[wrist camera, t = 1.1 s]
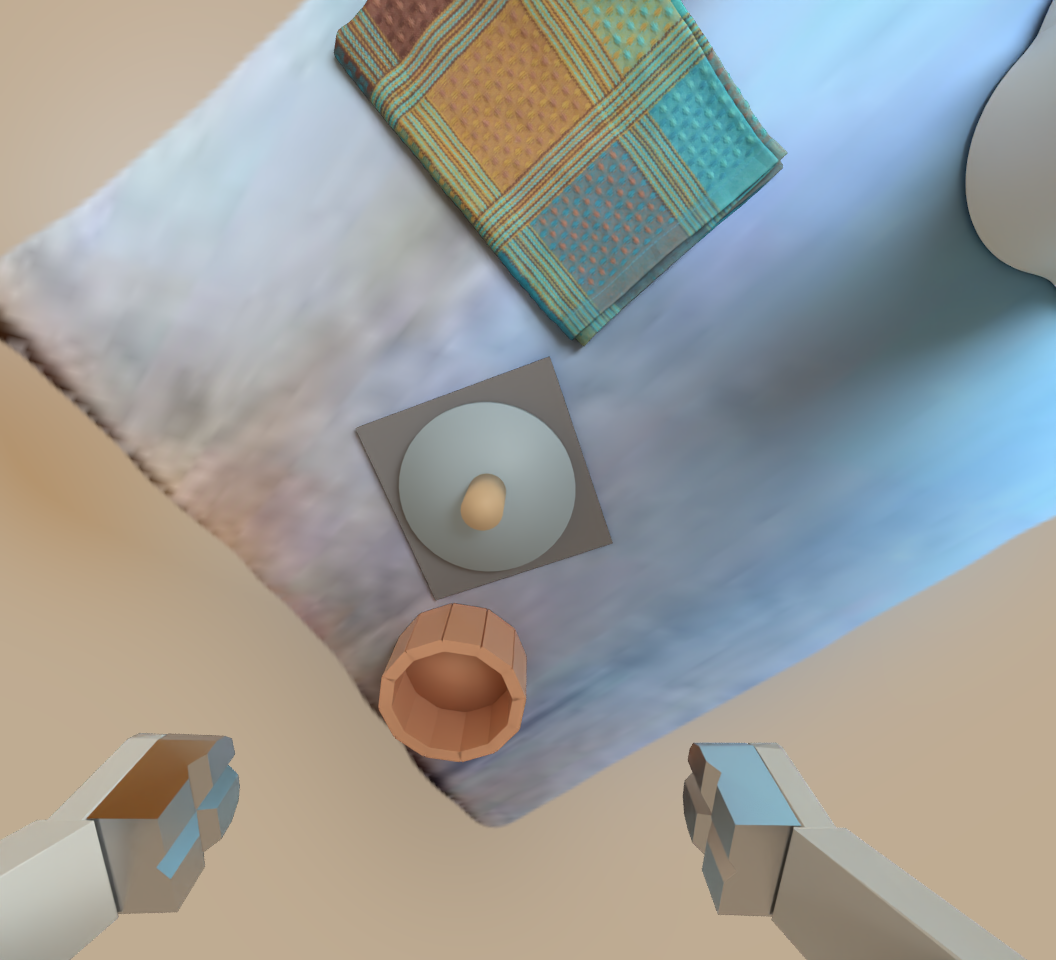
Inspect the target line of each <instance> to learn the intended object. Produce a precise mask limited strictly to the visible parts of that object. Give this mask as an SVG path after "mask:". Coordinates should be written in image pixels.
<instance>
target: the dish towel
mask: <svg viewBox="0 0 1056 960" xmlns="http://www.w3.org/2000/svg"><path fill="white" fill-rule="evenodd" d="M334 55H335V57H336V58H337V60H338V61H339V62H340V64H341V65H342V66H343V67H344V69H345V70H346V72H347V73H348V74H349V76H350V77H351V78H352V79H353V80H354V81H355V83H356V84H357V85H358V87H359V88H360V89H361V91H362V92H363V93H364V94H365V95H366V97H367V98H368V99H369V100H370V102H371V103H372V104H373V105H374V106H375V108H376V109H377V110H378V111H379V113H380V114H381V115H382V116H383V117H384V119H385V120H386V121H387V122H388V124H389V125H390V126H391V127H392V129H393V130H394V131H395V132H396V133H397V134H398V135H399V137H400V138H401V140H402V141H403V142H404V143H405V144H406V145H407V146H408V147H409V148H410V150H411V151H412V152H413V154H414V155H415V156H416V157H417V158H418V159H419V160H420V161H421V163H422V164H423V166H424V167H425V168H426V169H427V170H428V171H429V173H430V174H431V175H432V177H433V179H434V180H435V181H436V182H437V183H438V184H439V185H440V186H441V187H442V189H443V191H444V192H445V194H446V195H448V196H449V197H450V198H451V199H452V200H453V202H454V203H455V205H456V206H457V207H459V208H460V209H461V211H462V212H463V213H464V215H465V217H466V218H467V219H468V220H469V221H470V222H471V224H472V225H473V226H474V228H475V229H476V230H477V231H478V233H479V234H480V235H481V236H482V237H483V239H484V240H485V241H486V243H487V244H488V245H489V247H490V248H491V249H492V250H493V251H494V253H495V254H496V255H497V256H498V257H499V258H500V260H501V261H502V263H503V264H504V265H505V266H506V267H507V269H508V270H509V272H510V273H511V274H512V276H513V277H514V278H515V279H516V280H517V281H518V282H519V283H520V285H521V286H522V287H523V288H524V289H525V290H526V291H527V292H528V293H529V294H530V296H531V298H533V299H534V300H535V301H536V303H537V304H538V306H539V307H540V308H541V309H542V310H543V311H544V312H545V313H546V314H547V316H548V317H549V319H551V320H552V321H554V322H555V323H556V324H557V325H558V326H559V327H560V328H561V330H562V331H563V332H564V333H565V334H566V335H567V336H568V337H569V339H570V340H573V339H574V338H575V339H576V340H577V341H578V342H579V343H580V344H581V345H582V346H585V345H586V344H587V343H588V342H589V341H590V339H591V338H592V337H593V336H594V335H595V334H596V333H597V332H598V331H599V330H600V329H601V328H602V327H603V326H604V325H606V324H607V323H608V322H609V321H610V320H611V319H612V318H613V317H614V316H615V315H616V314H617V313H618V312H619V311H621V310H622V309H623V308H624V307H625V306H626V305H627V304H628V303H629V302H630V301H632V300H633V299H634V298H635V297H637V296H638V295H639V294H640V293H641V292H642V291H643V290H644V289H645V288H646V287H648V286H649V285H650V284H651V283H652V282H653V281H654V280H655V279H656V278H657V277H659V276H660V275H661V274H662V273H663V272H665V271H666V270H667V269H668V268H669V267H670V266H671V265H672V264H673V263H674V262H676V261H677V260H678V259H679V258H680V257H681V256H682V255H683V254H684V253H686V252H687V251H688V250H689V249H690V248H692V247H693V246H694V245H695V244H696V243H697V242H699V241H700V240H701V239H702V238H704V237H705V236H706V235H707V234H708V233H709V232H710V231H712V230H713V229H714V228H715V227H716V226H717V225H719V224H720V223H721V222H722V221H723V220H725V219H726V218H727V217H728V216H730V215H731V214H732V213H733V212H735V211H736V210H737V209H738V208H740V207H741V206H742V205H743V204H744V203H745V202H747V201H748V200H749V199H750V198H751V197H752V196H753V195H754V194H755V193H757V192H758V191H759V190H760V189H761V188H762V187H763V186H764V185H765V184H766V183H767V182H768V181H769V180H770V179H771V178H772V177H774V176H775V175H776V174H777V173H778V172H779V171H780V170H781V169H782V168H783V164H782V163H781V162H780V160H781V159H782V158H783V157H784V156H785V155H786V154H787V152H786V151H785V150H784V149H783V148H782V147H781V146H780V145H779V144H778V143H777V142H776V141H775V140H774V139H773V138H771V137H770V136H769V135H768V133H767V132H766V130H765V129H764V128H763V127H762V126H761V124H760V123H759V121H758V119H757V118H756V117H755V116H754V114H753V113H752V111H751V109H750V106H749V104H748V102H747V101H746V100H745V99H744V98H743V96H742V95H741V92H740V89H739V88H738V87H737V86H736V85H735V84H734V82H733V81H732V79H731V77H730V74H729V73H728V72H727V71H726V70H725V68H724V67H723V65H722V63H721V61H720V59H719V58H718V56H717V55H716V53H715V52H714V50H713V48H712V47H711V45H710V43H709V42H708V40H707V39H706V37H705V36H704V34H703V33H702V31H701V30H700V28H699V27H698V25H697V24H696V22H695V21H694V19H693V18H692V16H691V15H690V14H689V12H688V11H687V10H686V8H685V7H684V5H683V3H682V2H681V0H367V2H366V3H365V5H364V6H363V8H362V9H361V10H360V11H359V12H358V13H357V15H356V16H355V17H354V18H353V19H352V20H351V21H350V22H349V23H348V24H346V25H345V26H343V27H342V28H340V29H339V30H338V32H337V35H336V42H335V49H334Z"/></svg>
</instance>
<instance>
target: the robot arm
mask: <svg viewBox="0 0 1056 960" xmlns="http://www.w3.org/2000/svg"><path fill="white" fill-rule="evenodd" d="M966 197H967V204H968V209H969V213H970V217H971V220H972V223H973V225H974V228H975V230H976V232H977V234H978V235H979V237H980V239H981V240H982V242H983V243H984V244H985V246H986V247H987V248H988V249H989V250H990V251H991V252H992V253H993V254H994V255H995V256H996V257H997V258H998V259H1000V260H1001V261H1003V262H1004V263H1006V264H1007V265H1009V266H1011V267H1013V268H1015V269H1018V270H1021V271H1024V272H1027V273H1031V274H1035V275H1038V276H1041V277H1044V278H1046V279H1048V280H1050V281H1051V282H1052V283H1053V285H1054V286H1055V287H1056V0H1053V2H1052V4H1051V6H1050V8H1049V10H1048V12H1047V14H1046V17H1045V19H1044V21H1043V24H1042V26H1041V28H1040V31H1039V33H1038V35H1037V37H1036V38H1035V40H1034V41H1033V43H1032V44H1031V45H1030V46H1029V48H1028V49H1027V50H1026V52H1025V53H1024V54H1023V55H1022V56H1021V57H1020V58H1019V60H1018V61H1017V62H1016V63H1015V64H1014V65H1013V67H1012V68H1011V69H1010V70H1009V71H1008V73H1007V74H1006V75H1005V77H1004V78H1003V79H1002V81H1001V82H1000V83H999V85H998V86H997V88H996V89H995V91H994V93H993V94H992V96H991V97H990V99H989V101H988V103H987V105H986V107H985V108H984V111H983V113H982V115H981V117H980V119H979V122H978V124H977V127H976V129H975V132H974V135H973V138H972V142H971V146H970V150H969V155H968V160H967V167H966ZM234 755H235V751H234V746H233V741H232V738H229V737H226V736H212V735H189V734H188V735H187V734H150V733H139V734H137V735H134V736H132V737H130V738H128V739H127V740H126V741H125V742H124V743H123V744H122V745H121V746H120V747H119V748H118V749H117V750H116V751H115V752H114V754H112V755H111V756H110V757H109V759H107V760H106V761H105V763H103V764H102V765H101V766H100V767H99V768H98V769H97V770H96V772H94V773H93V774H92V775H91V777H89V779H87V780H86V781H85V782H84V783H83V784H82V786H80V787H79V788H78V790H77V791H75V792H74V794H72V796H71V797H70V798H69V799H68V800H67V801H66V802H65V803H64V804H63V805H62V806H61V807H60V808H59V809H58V810H57V811H56V812H55V813H54V814H53V815H52V816H51V817H50V818H49V819H48V820H36V821H34V822H32V823H30V824H29V825H27V826H25V827H23V828H21V829H20V830H18V831H16V832H14V833H13V834H10V835H9V836H7V837H6V838H3V839H1V840H0V960H70V959H71V958H73V957H74V956H75V955H76V954H77V953H78V952H80V951H81V950H82V949H83V948H84V947H85V946H86V945H87V944H88V943H90V942H91V941H92V940H93V939H94V938H95V937H97V936H98V935H99V934H100V933H101V932H102V931H103V930H105V929H106V928H107V927H108V926H109V925H110V924H112V923H113V922H114V921H115V920H116V919H117V918H118V914H128V913H129V914H130V913H163V912H164V913H165V912H177V911H178V910H179V909H180V907H181V905H182V904H183V902H184V900H185V899H186V897H187V895H188V894H189V892H190V890H191V888H192V887H193V885H194V884H195V882H196V880H197V879H198V877H199V875H200V874H201V872H202V870H203V869H204V867H205V862H204V851H206V850H207V849H209V848H210V847H211V846H212V845H214V844H215V843H216V842H218V841H219V840H220V839H222V837H223V835H224V834H225V832H226V830H227V828H228V827H229V825H230V823H231V821H232V819H233V816H234V812H235V809H236V807H237V804H238V799H239V788H240V784H239V777H238V774H237V773H236V772H235V771H234V770H233V769H232V768H231V767H230V766H229V765H228V763H229V762H230V761H231V759H232V758H233V756H234ZM688 762H689V765H690V767H691V770H692V772H693V773H692V774H691V775H690V776H689V777H688V778H687V779H686V780H685V782H684V791H683V805H684V815H685V820H686V824H687V828H688V831H689V834H690V837H691V840H692V843H693V844H694V845H695V846H696V847H697V848H698V849H699V850H700V851H701V852H702V853H703V854H704V855H705V856H704V861H703V868H702V872H703V874H704V877H705V880H706V883H707V886H708V888H709V891H710V894H711V897H712V899H713V902H714V905H715V908H716V911H717V913H718V915H744V916H771V917H772V921H773V922H774V923H775V924H776V925H777V926H778V928H779V929H780V930H781V931H782V932H783V933H784V935H785V936H786V937H787V938H788V939H789V940H790V941H791V943H792V944H793V945H794V946H795V947H796V948H797V949H798V950H799V952H800V953H801V954H802V955H803V956H804V957H805V958H806V959H807V960H1027V959H1025V958H1024V957H1023V956H1021V955H1020V954H1018V953H1017V952H1016V951H1014V950H1013V949H1011V948H1010V947H1009V946H1007V945H1006V944H1005V943H1003V942H1002V941H1000V940H999V939H998V938H996V937H995V936H994V935H992V934H991V933H989V932H988V931H987V930H985V929H984V928H983V927H981V926H980V925H978V924H977V923H975V922H974V921H973V920H972V919H970V918H969V917H967V916H966V915H965V914H963V913H962V912H960V911H959V910H958V909H956V908H955V907H954V906H952V905H951V904H949V903H948V902H946V901H945V900H944V899H943V898H941V897H940V896H938V895H937V894H936V893H934V892H933V891H931V890H930V889H929V888H927V887H926V886H925V885H923V884H922V883H920V882H919V881H918V880H916V879H915V878H913V877H912V876H911V875H909V874H908V873H907V872H905V871H904V870H903V869H901V868H900V867H898V866H897V865H896V864H894V863H893V862H891V861H890V860H889V859H887V858H886V857H885V856H883V855H882V854H881V853H879V852H878V851H876V850H875V849H874V848H872V847H871V846H870V845H868V844H867V843H865V842H864V841H863V840H861V839H860V838H858V837H857V836H856V835H854V834H853V833H852V832H850V831H849V830H847V829H846V828H836V827H835V825H834V824H833V822H832V821H831V819H830V818H829V816H828V815H827V813H826V812H825V810H824V809H823V807H822V806H821V804H820V803H819V801H818V800H817V798H816V797H815V795H814V794H813V792H812V791H811V789H810V788H809V786H808V785H807V783H806V782H805V780H804V779H803V777H802V776H801V774H800V773H799V771H798V770H797V768H796V767H795V765H794V764H793V762H792V761H791V759H790V758H789V756H788V755H787V753H786V752H785V750H784V749H783V748H782V747H781V746H780V745H779V744H777V743H748V744H747V743H693V744H692V746H691V748H690V750H689V756H688Z"/></svg>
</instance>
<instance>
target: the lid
mask: <svg viewBox="0 0 1056 960" xmlns="http://www.w3.org/2000/svg"><path fill="white" fill-rule="evenodd" d="M399 494H400V501H401V505H402V509H403V512H404V514H405V517H406V520H407V521H408V523H409V525H410V527H411V529H412V530H413V532H414V533H415V534H416V536H417V537H418V538H419V540H420V541H421V542H422V543H423V544H424V545H425V546H426V547H427V548H428V549H430V550H431V551H432V552H433V553H434V554H436V555H438V556H439V557H441V558H442V559H444V560H446V561H448V562H450V563H452V564H454V565H457V566H460V567H463V568H466V569H471V570H476V571H502V570H509V569H512V568H516V567H519V566H522V565H524V564H527V563H529V562H531V561H533V560H535V559H536V558H538V557H539V556H541V555H542V554H544V553H545V552H546V551H547V550H548V549H549V548H551V547H552V546H553V545H554V544H555V542H556V541H557V540H558V539H559V538H560V536H561V535H562V533H563V532H564V530H565V528H566V527H567V524H568V522H569V520H570V518H571V515H572V511H573V508H574V502H575V477H574V472H573V468H572V464H571V461H570V458H569V456H568V453H567V451H566V449H565V447H564V446H563V444H562V442H561V441H560V439H559V438H558V437H557V435H556V434H555V433H554V431H553V430H552V429H551V428H550V427H549V426H547V425H546V424H545V423H544V422H543V421H542V420H540V419H539V418H538V417H536V416H535V415H533V414H531V413H529V412H528V411H526V410H523V409H521V408H518V407H516V406H513V405H509V404H505V403H499V402H491V401H489V402H473V403H467V404H463V405H460V406H456V407H454V408H452V409H449V410H447V411H445V412H443V413H442V414H440V415H439V416H437V417H435V418H434V419H433V420H432V421H431V422H429V423H428V424H427V425H426V426H425V427H424V428H423V429H422V430H421V431H420V432H419V433H418V434H417V435H416V437H415V438H414V439H413V441H412V442H411V444H410V445H409V447H408V449H407V452H406V454H405V456H404V459H403V462H402V465H401V470H400V475H399Z"/></svg>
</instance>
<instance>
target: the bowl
mask: <svg viewBox="0 0 1056 960" xmlns="http://www.w3.org/2000/svg"><path fill="white" fill-rule="evenodd" d="M486 610H487V609H486V608H480V607H474V606H468V605H462V604H456V603H453V605H452V603H451V604H448V605H445V606H442V607H439V608H435V609H432V610H429V611H426V612H423V613H421V614H419V615H418V616H417V617H416V618H415V619H414V621H413V622H412V623H411V624H410V625H409V626H408V627H407V628H406V630H405V631H404V632H403V633H402V634H401V635H400V636H399V639H398V641H397V643H396V646H395V648H394V650H393V653H392V655H391V657H390V659H389V662H388V664H387V666H386V669H385V671H384V673H383V675H382V679H381V688H380V697H379V706H378V708H379V711H380V712H381V714H382V716H383V718H384V720H385V722H386V723H387V725H388V727H389V729H390V731H391V733H392V734H393V736H394V737H395V738H396V739H397V740H399V741H400V742H402V743H403V744H405V745H407V746H408V747H410V748H411V749H413V750H414V751H416V752H417V753H419V754H421V755H422V756H425V755H426V756H425V757H428V758H435V759H442V760H449V761H455V762H460V760H461V761H462V762H464V761H468V760H471V759H475V758H478V757H482V756H485V755H489V754H492V753H495V751H496V752H497V751H498V750H499V749H500V748H501V747H502V746H503V745H504V744H505V743H506V742H507V741H508V740H509V739H510V738H511V737H512V736H513V735H514V734H516V733H517V732H518V731H519V729H520V725H521V721H522V716H523V711H524V707H525V702H526V672H527V656H526V654H525V651H524V649H523V647H522V644H521V642H520V639H519V637H518V635H517V632H516V630H514V628H513V627H512V626H511V625H509V624H508V623H506V622H505V621H504V620H502V619H501V618H500V617H498V616H497V615H496V614H494V613H493V612H492V611H490V610H489V609H488V610H487V611H486Z"/></svg>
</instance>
